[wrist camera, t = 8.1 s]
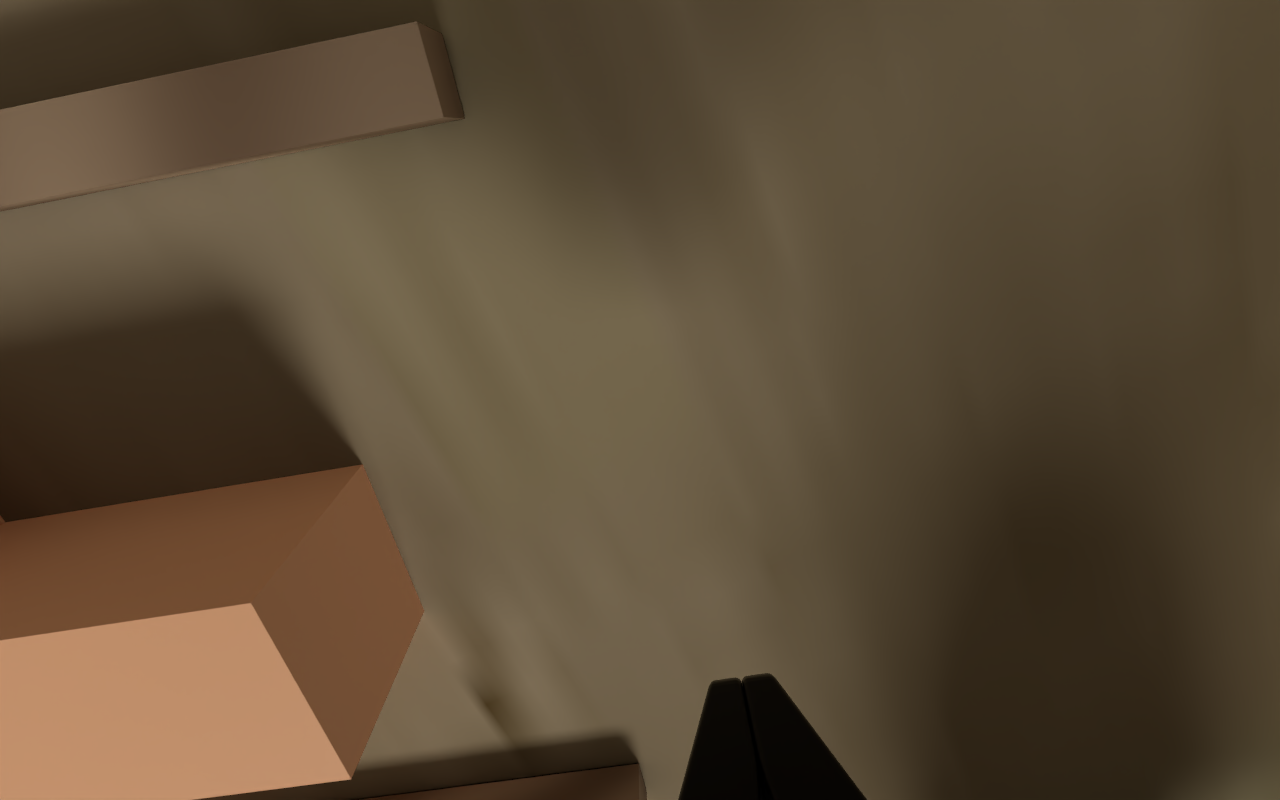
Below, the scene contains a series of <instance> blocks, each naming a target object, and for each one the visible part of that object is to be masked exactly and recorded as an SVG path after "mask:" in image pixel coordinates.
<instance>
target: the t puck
mask: <svg viewBox="0 0 1280 800" xmlns="http://www.w3.org/2000/svg"><path fill="white" fill-rule="evenodd" d="M423 613H424V610H423V607H422V605H421V602H420V600H419V598H418V595H417V593H416V591H415V588H414V586H413V583H412V581H411V579H410V576H409V574H408V571H407V569H406V567H405V564H404V562H403V560H402V557H401V555H400V552H399V550H398V548H397V545H396V543H395V540H394V538H393V536H392V533H391V531H390V529H389V526H388V524H387V521H386V519H385V517H384V514H383V512H382V509H381V507H380V505H379V502H378V500H377V498H376V495H375V493H374V490H373V488H372V486H371V483H370V481H369V478H368V476H367V474H366V471H365V469H364V467H363V464H362V465H356V466H349V467H343V468H337V469H331V470H325V471H319V472H312V473H306V474H300V475H294V476H288V477H282V478H275V479H269V480H263V481H257V482H251V483H245V484H239V485H232V486H226V487H220V488H214V489H208V490H202V491H195V492H189V493H183V494H177V495H171V496H165V497H158V498H152V499H146V500H140V501H134V502H128V503H121V504H115V505H109V506H103V507H97V508H91V509H84V510H78V511H72V512H66V513H60V514H54V515H48V516H41V517H35V518H29V519H23V520H17V521H11V522H5V521H4V520H3V518H2V517H1V516H0V800H194V799H202V798H210V797H218V796H226V795H233V794H241V793H249V792H257V791H265V790H272V789H280V788H288V787H296V786H303V785H311V784H319V783H327V782H335V781H342V780H350V779H352V776H353V774H354V772H355V769H356V767H357V765H358V763H359V760H360V758H361V756H362V753H363V751H364V749H365V746H366V744H367V742H368V739H369V737H370V735H371V733H372V730H373V728H374V726H375V723H376V721H377V719H378V716H379V714H380V712H381V709H382V707H383V705H384V703H385V700H386V698H387V696H388V693H389V691H390V689H391V686H392V684H393V682H394V679H395V677H396V675H397V673H398V670H399V668H400V666H401V663H402V661H403V659H404V656H405V654H406V652H407V649H408V647H409V645H410V643H411V640H412V638H413V636H414V633H415V631H416V629H417V626H418V624H419V622H420V619H421V617H422V615H423Z"/></svg>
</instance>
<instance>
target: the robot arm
mask: <svg viewBox="0 0 1280 800" xmlns="http://www.w3.org/2000/svg"><path fill="white" fill-rule="evenodd" d="M678 800H867V799H866V798H865V797H864V795H863V794H862V793H861V791H860V790H859V789H858V787H857V786H856V785H855V783H854V782H853V781H852V779H851V778H850V777H849V775H848V774H847V773H846V771H845V770H844V769H843V767H842V766H841V765H840V763H839V762H838V761H837V759H836V758H835V757H834V755H833V754H832V753H831V751H830V750H829V749H828V747H827V746H826V745H825V743H824V742H823V741H822V739H821V738H820V737H819V735H818V734H817V733H816V731H815V730H814V729H813V727H812V726H811V725H810V723H809V722H808V721H807V719H806V718H805V717H804V715H803V714H802V713H801V711H800V710H799V709H798V707H797V706H796V705H795V703H794V702H793V701H792V699H791V698H790V697H789V695H788V694H787V693H786V691H785V690H784V689H783V687H782V686H781V685H780V684H779V682H778V681H777V680H776V678H775V677H774V676H773V675H771V674H768V673H765V674H758V675H751V676H746V677H744V678H743V680H742V683H741V681H740V679H738V678H729V679H722V680H715V681H713V682H711V684H710V686H709V688H708V692H707V696H706V699H705V703H704V707H703V710H702V714H701V718H700V721H699V725H698V729H697V732H696V736H695V740H694V743H693V747H692V751H691V755H690V758H689V762H688V766H687V769H686V773H685V777H684V780H683V784H682V788H681V791H680V795H679V799H678Z"/></svg>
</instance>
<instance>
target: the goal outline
mask: <svg viewBox="0 0 1280 800" xmlns="http://www.w3.org/2000/svg"><path fill="white" fill-rule="evenodd" d="M460 119H465V117H464V113H463V110H462V106H461V102H460V99H459V95H458V91H457V87H456V84H455V80H454V76H453V73H452V69H451V65H450V61H449V58H448V54H447V50H446V47H445V43H444V39H443V36H442V34H441V33H439V32H437V31H435V30H433V29H431V28H429V27H427V26H425V25H423V24H421V23H419V22H417V21H416V22H411V23H407V24H402V25H397V26H393V27H388V28H383V29H378V30H374V31H369V32H364V33H359V34H355V35H350V36H345V37H341V38H336V39H331V40H326V41H322V42H317V43H312V44H308V45H303V46H298V47H293V48H289V49H284V50H279V51H274V52H270V53H265V54H260V55H256V56H251V57H246V58H241V59H237V60H232V61H227V62H222V63H218V64H213V65H208V66H204V67H199V68H194V69H189V70H185V71H180V72H175V73H171V74H166V75H161V76H156V77H152V78H147V79H142V80H137V81H133V82H128V83H123V84H119V85H114V86H109V87H104V88H100V89H95V90H90V91H86V92H81V93H76V94H71V95H67V96H62V97H57V98H52V99H48V100H43V101H38V102H34V103H29V104H24V105H19V106H15V107H10V108H5V109H0V211H5V210H10V209H15V208H20V207H25V206H30V205H35V204H40V203H45V202H50V201H55V200H60V199H65V198H70V197H75V196H80V195H85V194H90V193H95V192H100V191H105V190H110V189H115V188H120V187H125V186H130V185H135V184H140V183H145V182H150V181H155V180H160V179H165V178H170V177H175V176H180V175H185V174H190V173H195V172H200V171H205V170H210V169H215V168H220V167H225V166H230V165H235V164H240V163H245V162H250V161H255V160H260V159H265V158H270V157H275V156H280V155H285V154H290V153H295V152H300V151H305V150H310V149H315V148H320V147H325V146H330V145H335V144H340V143H345V142H350V141H355V140H360V139H365V138H370V137H375V136H380V135H385V134H390V133H395V132H400V131H405V130H410V129H415V128H420V127H425V126H430V125H435V124H440V123H445V122H450V121H455V120H460ZM361 800H647V792H646V788H645V784H644V781H643V777H642V773H641V770H640V766H639V764H633V765H625V766H617V767H609V768H602V769H594V770H586V771H578V772H571V773H563V774H555V775H547V776H540V777H532V778H524V779H516V780H508V781H501V782H493V783H485V784H477V785H470V786H462V787H454V788H446V789H439V790H431V791H423V792H415V793H408V794H400V795H392V796H384V797H377V798H369V799H361Z"/></svg>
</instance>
